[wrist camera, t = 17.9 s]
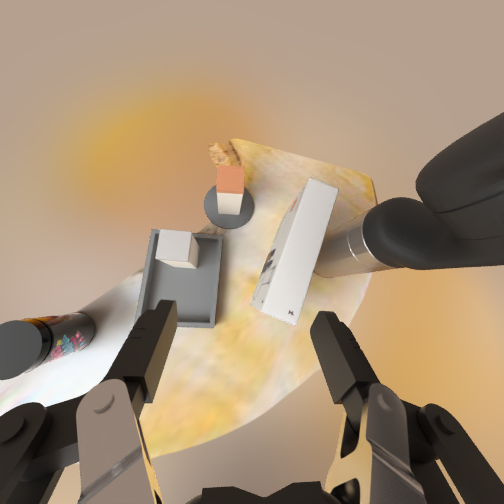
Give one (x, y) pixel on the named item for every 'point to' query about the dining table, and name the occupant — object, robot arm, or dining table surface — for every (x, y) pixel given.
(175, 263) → the white lid box
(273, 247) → the skincare box
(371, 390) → the robot arm
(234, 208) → the rust lid box
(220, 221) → the slate mat
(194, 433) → the dining table surface
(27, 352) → the supplement container
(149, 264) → the parts tray
